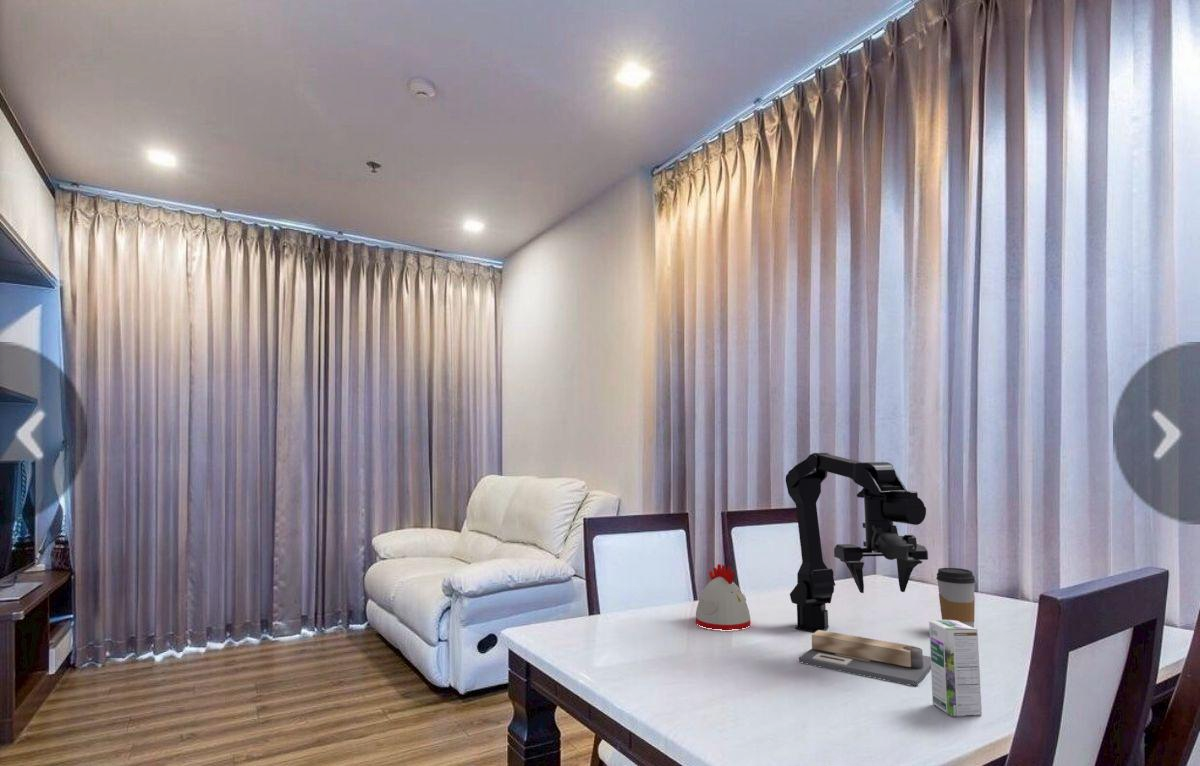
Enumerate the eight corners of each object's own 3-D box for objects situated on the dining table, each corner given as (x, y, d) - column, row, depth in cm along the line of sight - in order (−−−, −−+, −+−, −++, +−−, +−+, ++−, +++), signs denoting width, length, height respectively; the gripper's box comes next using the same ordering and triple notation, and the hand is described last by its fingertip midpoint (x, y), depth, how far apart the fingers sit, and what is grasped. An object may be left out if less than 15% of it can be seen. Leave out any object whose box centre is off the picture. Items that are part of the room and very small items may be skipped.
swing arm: (812, 649, 142) (811, 634, 142) (819, 644, 146) (818, 629, 146) (920, 669, 129) (919, 653, 129) (925, 663, 132) (924, 647, 132)
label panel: (799, 662, 137) (798, 656, 138) (826, 642, 151) (826, 637, 151) (917, 686, 123) (916, 679, 123) (936, 662, 137) (935, 656, 137)
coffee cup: (984, 640, 152) (980, 574, 153) (945, 638, 153) (941, 573, 155) (971, 630, 160) (967, 567, 161) (934, 628, 161) (931, 566, 163)
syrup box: (931, 704, 115) (926, 619, 116) (962, 702, 116) (957, 618, 117) (951, 717, 109) (946, 628, 111) (984, 716, 110) (978, 627, 111)
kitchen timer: (725, 635, 158) (724, 571, 159) (684, 623, 169) (683, 564, 170) (761, 624, 167) (759, 564, 168) (720, 614, 177) (718, 558, 179)
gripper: (854, 525, 134) (857, 602, 133) (941, 523, 136) (945, 600, 134) (831, 518, 145) (834, 590, 144) (912, 517, 147) (915, 588, 145)
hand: (882, 592), depth 142 cm, fingers open, 9 cm apart
